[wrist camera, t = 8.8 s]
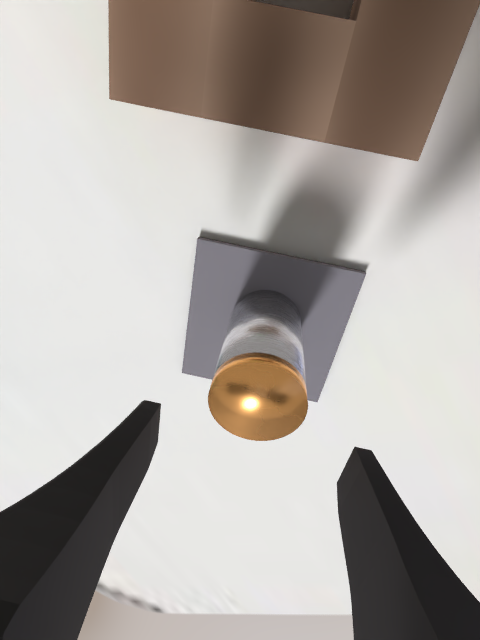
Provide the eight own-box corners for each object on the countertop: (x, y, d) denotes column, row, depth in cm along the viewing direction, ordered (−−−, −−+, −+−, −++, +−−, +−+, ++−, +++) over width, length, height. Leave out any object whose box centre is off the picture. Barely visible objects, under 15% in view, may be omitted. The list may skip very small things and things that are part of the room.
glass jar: (308, 297, 19) (319, 375, 13) (291, 356, 21) (294, 448, 15) (236, 283, 19) (214, 355, 13) (227, 343, 21) (203, 430, 15)
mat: (364, 271, 18) (365, 273, 18) (316, 398, 23) (317, 402, 22) (199, 237, 18) (197, 239, 18) (183, 369, 23) (181, 372, 22)
